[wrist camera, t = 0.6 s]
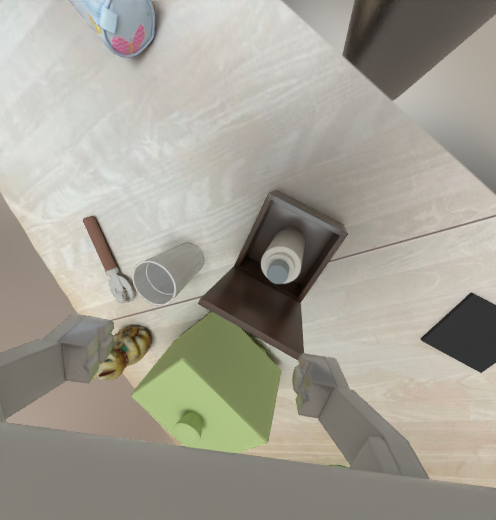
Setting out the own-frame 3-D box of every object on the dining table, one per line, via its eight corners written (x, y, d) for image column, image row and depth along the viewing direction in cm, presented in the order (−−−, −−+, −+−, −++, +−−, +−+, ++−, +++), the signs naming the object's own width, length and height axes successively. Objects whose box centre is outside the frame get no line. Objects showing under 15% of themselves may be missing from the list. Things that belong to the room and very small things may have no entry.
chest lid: (200, 297, 26) (197, 303, 26) (304, 356, 25) (300, 362, 25) (233, 266, 40) (231, 270, 40) (300, 303, 39) (298, 307, 39)
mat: (471, 292, 37) (473, 294, 37) (538, 327, 36) (542, 329, 36) (420, 338, 42) (421, 341, 41) (479, 370, 41) (481, 373, 41)
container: (180, 333, 57) (117, 410, 39) (223, 299, 50) (170, 373, 32) (233, 387, 59) (197, 484, 41) (282, 361, 52) (264, 465, 34)
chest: (275, 189, 39) (268, 192, 34) (344, 224, 38) (348, 233, 33) (243, 255, 45) (233, 267, 40) (301, 287, 44) (299, 303, 39)
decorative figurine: (150, 321, 58) (99, 368, 45) (162, 348, 61) (117, 400, 47) (120, 323, 62) (65, 368, 48) (132, 349, 64) (83, 398, 51)
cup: (173, 235, 48) (131, 255, 37) (209, 244, 46) (176, 268, 36) (171, 269, 51) (132, 297, 40) (205, 279, 50) (174, 311, 39)
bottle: (282, 221, 40) (267, 246, 28) (310, 236, 40) (308, 268, 28) (268, 248, 42) (248, 281, 30) (295, 262, 42) (286, 301, 30)
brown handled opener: (85, 219, 53) (72, 221, 50) (104, 212, 51) (92, 214, 48) (122, 300, 58) (112, 306, 55) (140, 297, 56) (131, 303, 53)
